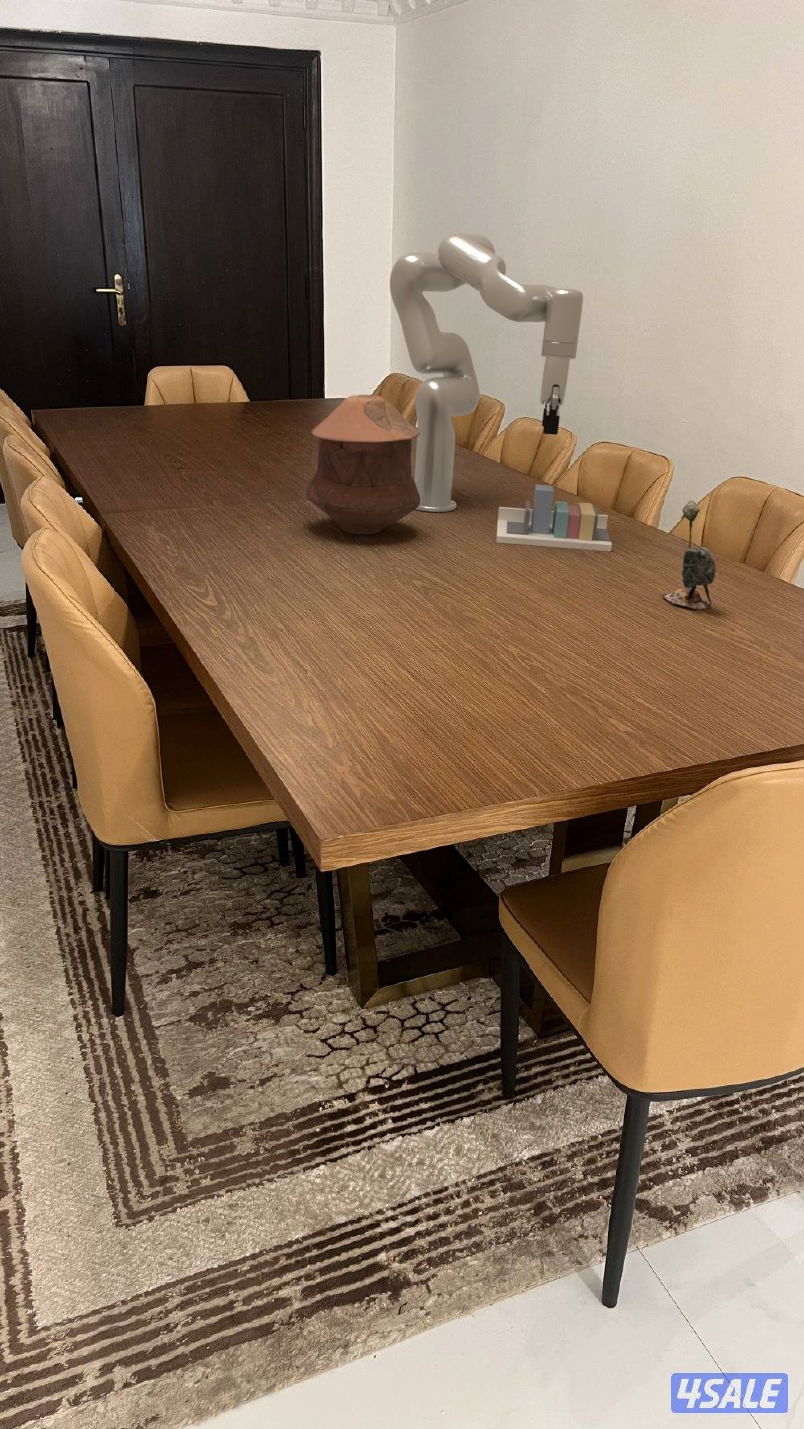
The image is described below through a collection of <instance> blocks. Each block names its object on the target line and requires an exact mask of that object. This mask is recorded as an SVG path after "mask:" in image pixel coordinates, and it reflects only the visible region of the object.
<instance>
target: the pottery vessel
mask: <svg viewBox="0 0 804 1429" xmlns="http://www.w3.org/2000/svg"><path fill="white" fill-rule="evenodd" d="M310 434H311V435H312V436H313V437H315V438H318V439H317V448H318V449H317V451H318V452H317V453H318V454H317V470H316V472H315V473H314V474H313V476H312V478H311V479H310V481H309V483H308V485H307V487H306V491H305V494H306V497H307V499H308V500H309V501H310V502H311V503H312V504H313V505H314V506H316V507H318V509H320V510H321V511H322V512H324V513H325V514H326V515H327V516H328V517H329V518H331V519H332V520H334V521H335V523H336V524H338V526H340V529H341V530H342V532H345V533H348V534H349V533H350V534H354V535H374V534H378V533H380V532H382V531H383V529H384V528H386V527H388V526H391V525H392V524H394V523H397V522H398V521H400V520H401V519H403V518H404V517H406V516H408V515H409V514H411V513H412V512H413V511H414V510H417V509H416V508H417V507H418V506H419V504H420V496H419V493H418V490H417V487H416V484H415V479H414V478H413V476H412V459H411V458H412V457H411V456H412V454H411V453H412V441H413V439H415V438H417V436H419V435H420V431H419V430H417V428H416V427H415V426H413V425H412V424H410V422H409V421H408V420H407V419H406V418H405V417H404V416H403V415H402V414H401V412H400V411H399V409H397V408H396V407H395V406H394V405H393V404H392V403H391V402H389V400H387V399H385V398H384V397H383V396H380V395H377V394H356V395H355V394H354V395H350V396H346V398H344V400H342V402H341V403H340V404H339V405H338V406H337V407H336V408H335V409H334V410H333V411H332V412H331V413H330V414H329V415H328V416H327V417H326V418H325V419H323V421H321V422H320V423H319V424H318V425H317V426H316V427H314V428H313V429H312V430H311V431H310Z"/></svg>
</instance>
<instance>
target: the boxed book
mask: <svg viewBox="0 0 804 1429" xmlns="http://www.w3.org/2000/svg"><path fill="white" fill-rule="evenodd" d="M534 488H535V489H534V495H533V496H534V497H533V504H532V505H533V506H532V509H533V513H532V522H531V533H536V534H549V528H550V520H551V511H553V510H552V509H553V500H554V494H555V493H554V492H555V490H554V486H553V485H547V484H535V487H534Z"/></svg>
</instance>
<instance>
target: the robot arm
mask: <svg viewBox="0 0 804 1429" xmlns="http://www.w3.org/2000/svg"><path fill="white" fill-rule="evenodd" d="M494 247H495V246H494V245H493V243H492V242H491V240H490V239H489V238H488V237H485V236H484V235H479V234H469V233H453V234H449V235H447V236H446V237H444V238H443V239H442V241H440V243H439V245H438V248H437V253H433V252H432V253H431V252H419V251H418V252H411V253H407V254H404V255H402V256H400V257H399V258H398V259H397V260H396V261H395V263H394V265H393V267H392V268H391V272H390V276H389V291H390V295H391V300H392V302H393V305H394V307H395V310H396V311H395V312H396V313H397V315H398V319H399V320H400V324H401V328H402V333H403V336H404V341H405V343H406V348H407V350H408V351H407V352H408V355H409V359H410V361H411V365H412V367H413V368H414V370H415V371H416V372H417V373H420V374H423V375H432V374H434V375H435V374H442V376H438V377H437V376H435V377H431V378H427V379H425V380H424V381H422V383H420V384H419V385H418V387H417V389H416V392H415V396H414V397H415V398H414V400H415V412H416V419H417V423H416V425H417V428H416V429H417V430H419V431H420V435H419V436H417V437H416V449H415V450H416V451H415V452H416V453H415V455H416V456H415V471H414V482H415V484H416V487H417V490H418V493H419V496H420V504H419V506H418V507H417V508H416V509H415V510H417V511H423V512H432V513H433V512H434V513H443V512H445V513H446V512H451V511H454V510H456V509H457V502H456V501H455V500H453V499H452V488H453V474H454V473H453V472H454V464H455V463H454V460H455V451H456V450H455V448H456V432H455V428H454V425H453V422H452V418H453V417H461V416H466V415H470V414H472V413H473V412H474V411H475V410H477V408H478V406H479V403H480V398H481V395H480V394H481V391H480V387H479V383H478V378H477V374H476V371H475V367H474V363H473V359H472V355H471V352H470V348H469V347H468V344H467V342H466V341H465V340H464V338H463V337H461V336H460V335H459V334H457V333H455V332H442V331H441V329H440V327H439V325H438V321H437V317H436V315H435V311H434V309H433V307H432V306H431V303H430V302H429V301H428V300H427V298H425V296H424V294H423V293H424V292H436V293H437V292H439V293H442V292H443V293H444V292H445V293H446V292H450V291H453V290H456V289H458V288H460V287H462V286H465V285H466V284H467V285H468V286H470V287H471V288H473V289H474V290H476V291H478V292H479V294H480V296H481V299H482V300H483V302H484V304H485V305H486V306H487V307H488V308H490V309H491V310H492V311H494V312H496V313H497V314H499V315H500V316H502V317H504V318H506V319H508V320H509V321H512V322H516V323H530V322H531V323H544V328H543V329H544V330H543V337H542V346H541V354H540V357H542V358H543V357H545V359H544V360H545V361H544V366H543V372H542V379H541V380H542V381H541V390H540V396H539V400H540V401H539V402H540V403H541V405H544V408H543V413H542V422H541V426H542V427H543V430H542V434H543V435H554V436H557V435H558V433H559V424H560V417H561V416H560V409H561V406H562V405H563V404H564V401H565V400H564V399H565V396H566V391H567V390H566V389H567V384H568V378H569V369H570V361H571V360H574V359H576V357H577V350H578V342H579V334H580V326H581V320H582V312H583V310H582V309H583V304H584V294H583V292H582V291H581V290H578V289H571V288H558V287H554V286H550V285H545V284H522V283H521V284H520V283H518V282H516V281H514V280H513V279H511V278H510V277H508V276H506V272H507V271H506V268H507V264H506V262H505V260H504V258H502V257H501V256H500V255H498V254H496V251H495V248H494Z"/></svg>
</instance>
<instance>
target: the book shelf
mask: <svg viewBox="0 0 804 1429" xmlns="http://www.w3.org/2000/svg"><path fill="white" fill-rule="evenodd" d="M532 513H533V508H531V503H530V501H529V500H526V501H525V508H520V507H519V508H518V507H517V508H516V507H506V506H499V507H498V515H497V525H496V543H498V544H508V545H509V544H511V545H512V544H513V545H523V546H524V545H525V546H537V547H549V548H561V549H562V548H563V549H572V550H573V549H574V550H575V549H577V550H585V551H587V550H588V551H600V552H610V551H611V552H612V547H613V544H612V541H611V538H610V536H609V532H608V529H607V527H608V518H609V515H608V514H598V511H597V509H596V506H595V505H593V503H590V502H589V503H588V502H578V504H577V505H571V504H568V502H567V501H561V500H554V507H553V510H552V511H551V520H550V528H549V534H536V533H531V522H532Z"/></svg>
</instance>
